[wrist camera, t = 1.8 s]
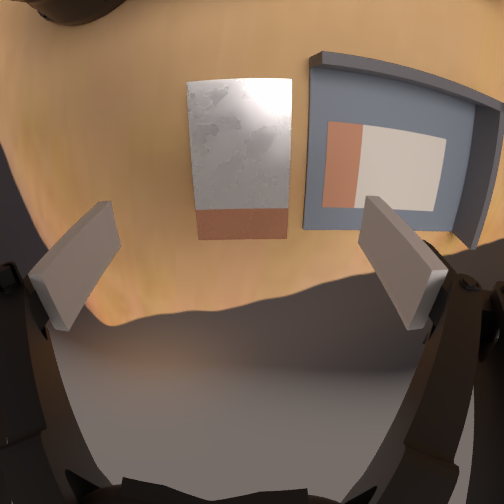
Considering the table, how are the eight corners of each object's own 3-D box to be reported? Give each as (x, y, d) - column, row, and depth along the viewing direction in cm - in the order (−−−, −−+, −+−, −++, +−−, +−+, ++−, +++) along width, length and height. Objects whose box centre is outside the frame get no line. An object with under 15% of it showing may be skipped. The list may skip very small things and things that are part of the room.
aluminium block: (202, 84, 26) (186, 82, 19) (280, 82, 26) (291, 79, 19) (209, 205, 33) (198, 240, 26) (278, 204, 33) (286, 238, 26)
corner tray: (309, 57, 24) (322, 51, 19) (479, 98, 24) (506, 104, 19) (302, 228, 35) (310, 252, 30) (455, 230, 35) (475, 249, 30)
